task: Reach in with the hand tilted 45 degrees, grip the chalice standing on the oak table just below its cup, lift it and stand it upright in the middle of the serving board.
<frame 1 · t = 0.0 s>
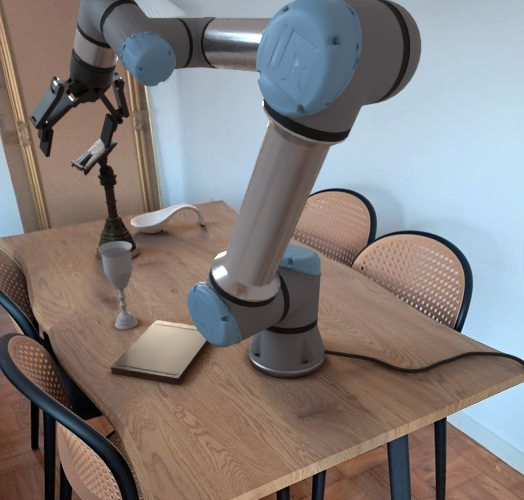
hand: (75, 147, 114), 36 cm above the table, tool tilted 35°, fingers open, 13 cm apart
spoon rest: (168, 229, 180), on the table
serving board: (166, 352, 113), on the table
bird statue: (111, 256, 159), on the table
chalice: (126, 324, 124), on the table
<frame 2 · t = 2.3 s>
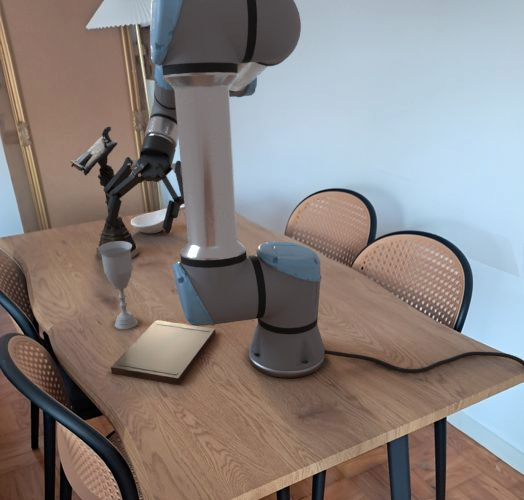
hand: (137, 227, 123), 19 cm above the table, tool tilted 45°, fingers open, 13 cm apart
nothing on the table moved.
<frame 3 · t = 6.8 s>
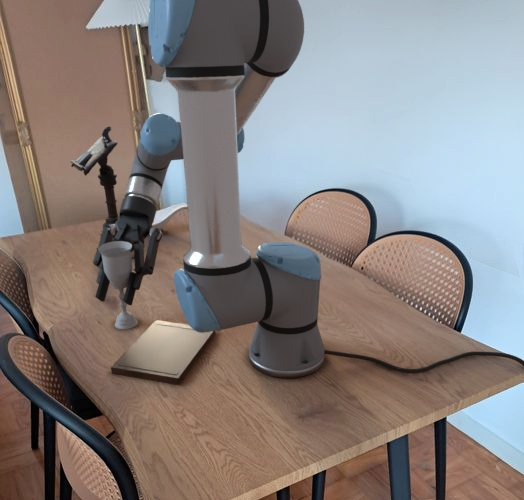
hand: (113, 301, 117), 7 cm above the table, tool tilted 45°, fingers closed on chalice, 6 cm apart
chalice: (126, 324, 124), on the table, touching gripper
everything else where it was.
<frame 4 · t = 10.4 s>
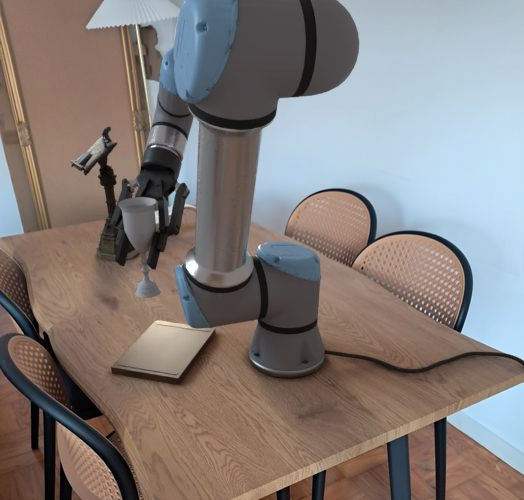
hand: (135, 264, 103), 19 cm above the table, tool tilted 45°, fingers closed on chalice, 6 cm apart
chalice: (148, 293, 110), point 12 cm above the table, touching gripper
everything else where it was.
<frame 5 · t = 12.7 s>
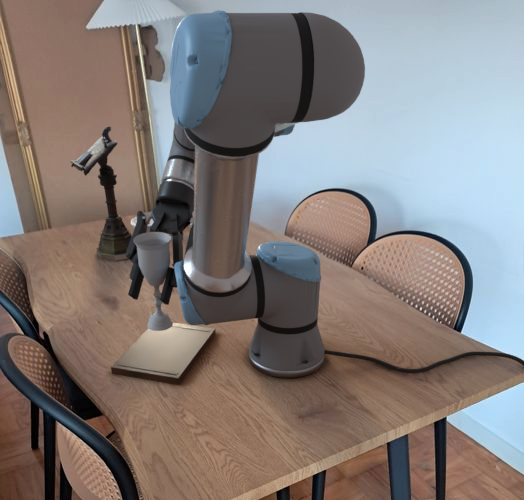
hand: (148, 299, 104), 13 cm above the table, tool tilted 45°, fingers closed on chalice, 6 cm apart
chalice: (160, 325, 111), point 6 cm above the table, touching gripper
everything else where it was.
when the fingers open (9 cm above the table, at t = 14.3 s): chalice stays where it is, resting on serving board.
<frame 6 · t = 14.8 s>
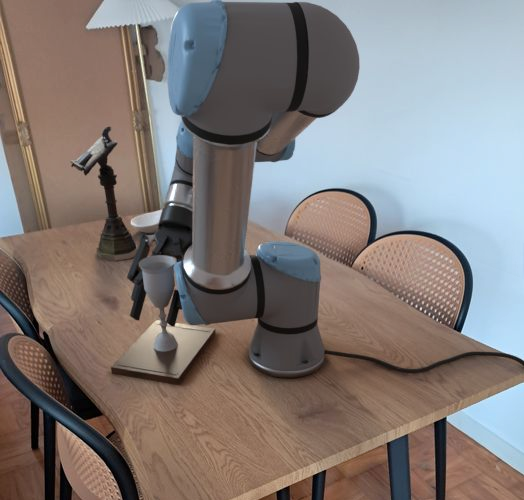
hand: (152, 320, 106), 9 cm above the table, tool tilted 45°, fingers open, 7 cm apart
chalice: (165, 345, 113), point 1 cm above the table, touching serving board
everything else where it was.
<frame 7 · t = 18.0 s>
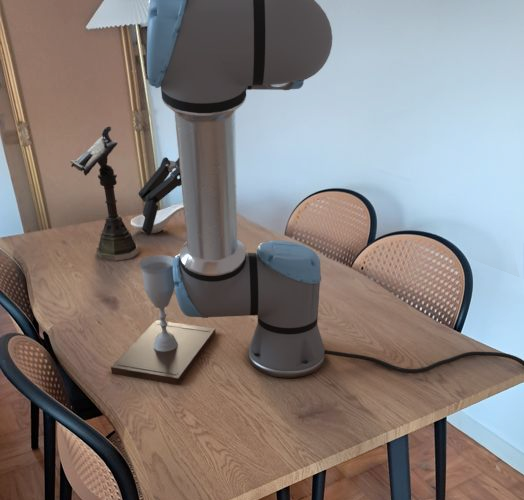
hand: (177, 235, 110), 22 cm above the table, tool tilted 45°, fingers open, 13 cm apart
nothing on the table moved.
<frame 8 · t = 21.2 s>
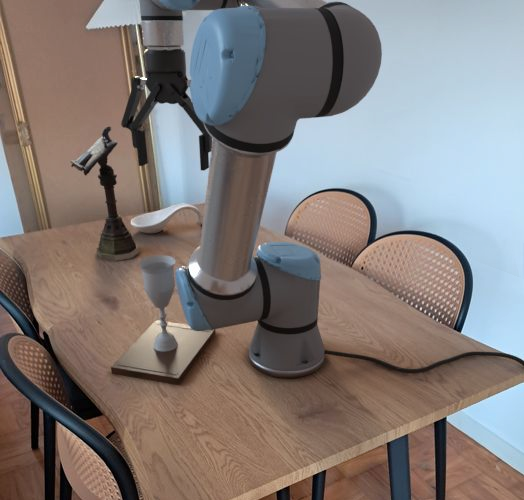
hand: (173, 166, 113), 33 cm above the table, tool pointing down, fingers open, 13 cm apart
nothing on the table moved.
at the end: chalice inside the target area on the serving board (0.6 cm from its centre), point 1.3 cm above the serving board's base; chalice tilted 0°; the gripper is holding nothing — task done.
